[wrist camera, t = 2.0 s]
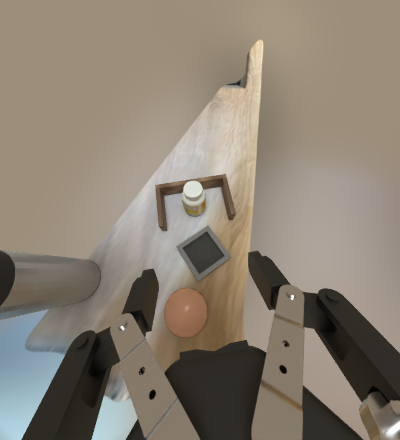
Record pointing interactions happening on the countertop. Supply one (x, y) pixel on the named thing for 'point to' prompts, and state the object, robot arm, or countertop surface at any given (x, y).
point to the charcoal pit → (203, 252)
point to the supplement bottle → (193, 198)
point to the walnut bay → (178, 188)
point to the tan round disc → (185, 312)
